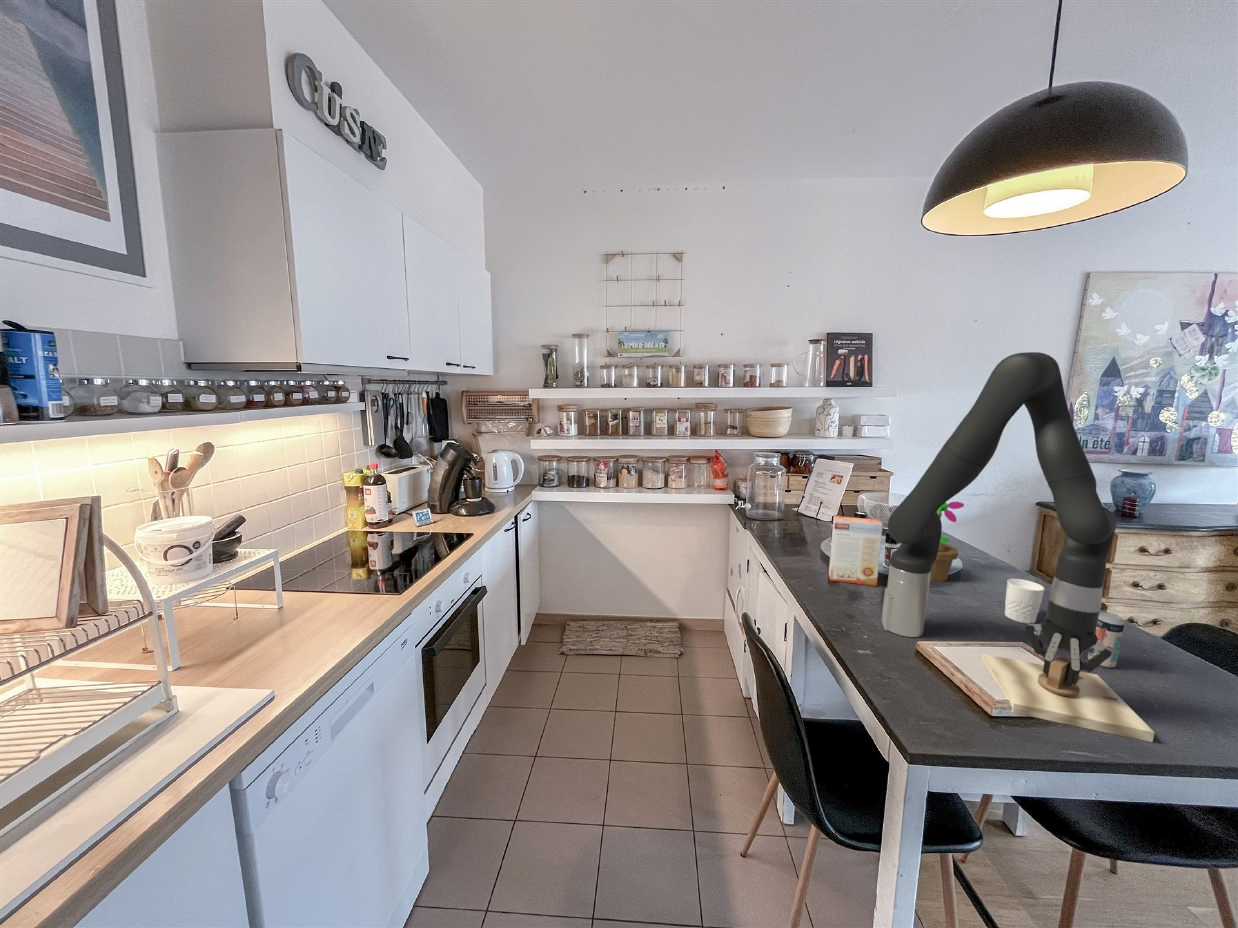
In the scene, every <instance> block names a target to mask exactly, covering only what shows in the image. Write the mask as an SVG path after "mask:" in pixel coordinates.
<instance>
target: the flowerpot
mask: <svg viewBox="0 0 1238 928" xmlns="http://www.w3.org/2000/svg"><path fill="white" fill-rule="evenodd" d="M964 504H965V503H963V502H961V501H951V502H949V503H947V502H945V503H944V504H943V505H942V506H941V507H940V508H939V509H938V510H937V511H936V512H937V513H938V515H939V517H940V519H941V518H942V516H943V512H944V516H945V517H946V518H947V520H948V521H950V522H952V523H955V522H957V516H956V515H955V513H954V512H952V510H957V509H958V510H959V509H961V508H964V507H965V505H964ZM950 509H951V510H950ZM950 542H951V540H950V539H949V538H947V537H945V536H943V535H941V539H940V544H939V549H938V554H937V558H936V560H935V562H934V563H933V565H932V569H931V576H930V582H937V583H940V582H941V583H942V582H946V581H947V580H948V577H949V573H950V570H951V568H952V563H953V561H954V560H957V559H958V555H959V550H958V549H957V548H955V547H953V546H952V545H950V544H945V543H950Z"/></svg>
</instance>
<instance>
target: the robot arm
mask: <svg viewBox="0 0 1238 928" xmlns="http://www.w3.org/2000/svg"><path fill="white" fill-rule="evenodd" d="M1023 405H1024V406H1025V408H1026V410H1027V412H1028V415H1029V417H1030V420H1031V423H1032V428H1033V432H1034V443H1035V450H1036V456H1037V461H1038V464H1039V466H1040V469H1041V472H1042V474H1043V476H1044V478H1045V481H1046V483H1047V485H1048V488H1049V489H1050V492H1051V495H1052V497H1053V503H1054V507H1055V512H1056V515H1057V519H1058V521H1059V525H1060V527H1061V529H1062V530H1063V532H1064V533H1065V537H1064V543H1063V548H1062V549H1061V551H1060V553H1059V555H1058V557H1057V562H1056V567H1055V572H1054V578H1053V580H1052V583H1051V585H1050V591H1049V597H1048V601H1047V609H1046V614H1045V618H1044V620H1042V622H1041V623H1027V624H1026V626H1025V627H1024V629H1025V631H1026V634H1027V637H1028V639H1029V642H1030V644H1031V646H1032V649H1033V651H1034V653H1035V654H1036V655H1040V656H1041V657H1042V658H1043V659H1044V662H1043V665H1044V667H1043V672H1044V673H1045V674H1047V675H1046V677H1048V674H1049V669H1050V664H1051V662H1052V661H1054V660H1056V658H1055V657H1056V654H1057V652H1058V650H1059V649H1064V650H1065V651H1068V652H1070V657H1071V667H1070V669H1069V674H1068V679H1067V685H1070V686H1071V685H1072V684H1076V683H1077V681H1078V678H1079V673H1080V672H1082V671H1086V673H1091V672H1093V671H1094V670H1095V669H1096V668H1098V667H1100V666H1099V665H1100V664H1101V663H1103V662H1104V661H1105V660H1106V659H1108V658H1109V657H1110V656H1111V655H1112V652H1113V649H1112V648H1111V647H1108V646H1107V647H1106V646H1105V645H1103V644H1102V643H1100V642H1099V641H1098V638H1097V636H1096V627H1097V622H1098V617H1099V612H1101V611H1100V610H1101V608H1102V606H1103V602H1102V601H1103V586H1104V582H1105V577H1106V569H1107V559H1108V555H1109V553H1110V550H1111V545H1112V543H1113V540H1114V536H1115V533H1116V528H1117V520H1116V517H1115V514H1114V513H1113V512H1112V511H1111V510H1110V509H1109V508H1107V507H1105V506H1104V505H1103V504H1102V501H1101V499H1100V497H1099V494H1098V491H1097V479H1096V477H1095V475H1094V471H1093V469H1092V467H1091V464H1090V462H1089V460H1088V458H1087V457H1088V456H1086V454H1085V451H1084V449H1083V448H1084V447H1083V446H1082V444H1081V442H1080V440H1079V437H1078V435H1077V432H1076V429H1075V425H1074V423H1073V421H1072V417H1071V414H1070V411H1069V406H1068V402H1067V399H1066V394H1065V390H1064V384H1063V379H1062V373H1061V368H1060V365H1059V363H1058V361H1056V359H1055V358H1054V357H1053V356H1051V355H1050V354H1047V353H1043V352H1039V351H1037V352H1036V351H1035V352H1033V351H1031V352H1030V351H1029V352H1017V353H1014V354H1011V355H1007V357H1005V358H1003V359H1001V360H1000V362H998V363H997V364H996V366H995V367H993V370H992V371H991V373H990V374H989V377H988V379H987V380H986V382H985V384H984V386H983V388H982V389H981V392H980V393H979V395H978V397H977V399H976V400H975V402H974V404H973V405H972V406H971V408H970V409H969V412H967V414H966V415H965V416H964V417H963V419H961V421H960V422H959V424H958V425H957V427H956V428H955V429H954V431H953V432H952V433H951V435H950V437H948V439H947V440H946V441H945V443H944V444H943V446H942V447H941V448H940V450H939V451H938V452H937V454H936V455H935V457H934V459H933V460H932V462H931V463H930V465H929V466H928V468H927V469H926V471H925V472H924V473H923V475H922V476H921V477H920V479H919V480H918V482H917V484H915V486H914V488H913V489H912V490H911V491H910V492H909V494H908V495H907V496H906V497H905V498H904V499H903V500H902V501H901V502H900V504H899V505H898V506H897V507H896V508H895V509H894V510H893V511H892V513H891V514H890V516H889V519H888V520H887V531H888V534H889V536H890V538H891V539H892V540H894V541H895V542H897V543H899V544H900V545H899V546H898V548H897V549H895V550H894V551H893V552H892V553H891V556H890V558H889V559H890V561H889V568H888V577H887V587H885V588H884V596H883V603H882V605H883V606H882V614H881V623H882V625H883V629H884V631H888V632H891V633H894V634H895V635H899V636H903V637H907V638H908V637H909V638H919V637H922V635H923V634H924V629H925V620H926V615H927V605H928V597H929V590H930V583H931V581H930V576H931V569H932V565H933V563H934V562H935V560H936V558H937V554H938V549H939V544H940V543H941V542H940V539H941V536H942V531H943V524H942V520H941V518H940V517H939V515H938V513H937V512H936V511H937V510H938V509H939V508H940V507H941V506H942V505H943V504H944V503H945V502H946V503H947V502H948V501H949V500H951V499H952V498H953V497H955V496H956V495H958V494H959V493H960V492H962V491H963V490H964V489H966V488H967V487H968V486H969V485H971V484H972V483H973V482H974V481H976V479H977V478H978V477H979V475H980V474H981V473H982V472H983V470H984V469H985V468H986V466H987V465H988V464H989V463H990V461H991V460H992V458H993V457H994V455H995V453H996V451H997V448H998V446H999V443H1000V440H1001V437H1002V435H1003V432H1004V430H1005V428H1006V427H1007V424H1008V423H1009V422H1010V420H1011V419H1012V418H1013V416H1014V415H1015V414H1016V413H1017V412H1018V410H1020V409H1021V408H1022V406H1023ZM1041 630H1042V631H1041ZM1042 632H1043V633H1044V635H1045V636H1046V638H1047V639H1048V641H1049V646H1048V647H1047V649H1046V648H1045V647H1044V644H1043V641H1042V640H1041V637H1040V635H1041V633H1042ZM1092 646H1095V648H1096V649H1095V653H1096V655H1095V656H1094V657H1093V658H1091V659H1090V660H1089V659H1088V660H1087V661H1083V657H1082V656H1083V652H1084V651H1086V650H1089V648H1090V647H1092Z"/></svg>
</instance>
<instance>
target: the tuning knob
mask: <svg viewBox="0 0 1238 928" xmlns="http://www.w3.org/2000/svg"><path fill="white" fill-rule="evenodd" d="M1070 667H1071V656H1067V655H1065V654H1063V655H1061V656H1059V657H1057V658H1055V660H1054V661H1052V662H1051V664H1050V669H1049V674H1048V677H1046V675H1047V674H1040V675H1039V676H1038V683H1039V684H1040V685H1041V686H1042V687H1044V688H1045V689H1047V690H1049V691H1051V692H1053V693H1056V694H1059V695H1062V696H1067V697H1077V696H1078V695H1079V692H1080V688H1079V687H1078V686H1077V685H1076V684H1072V685H1071V686H1070V685H1067V679H1068V674H1069V669H1070Z"/></svg>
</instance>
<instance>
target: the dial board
mask: <svg viewBox="0 0 1238 928" xmlns="http://www.w3.org/2000/svg"><path fill="white" fill-rule="evenodd" d="M981 659H982V660H983V662H984V663H985V665H986V667H987V669H988V670H989V672H990V673H991V675H992V676H993V678H994V679H995V681H996V682H997V683H998V685H999V687H1000V688H1001V689H1002V691H1003V693H1004V695H1005V696H1006V698H1007V699H1008V700H1009V701H1010V703H1011V705H1012V710H1010V711H1011V713H1013V714H1018V715H1022V716H1027V717H1031V718H1035V719H1040V720H1045V721H1049V722H1055V723H1059V724H1065V725H1068V726H1069V725H1070V726H1074V727H1079V728H1082V729H1083V728H1084V729H1089V730H1093V731H1097V732H1102V733H1105V734H1112V735H1116V736H1122V737H1126V738H1130V739H1135V740H1141V741H1145V742H1150V743H1153V741H1154V737H1155V734H1156V733H1155V731H1154V730H1153V729H1152V728H1151V727H1150V726H1149V725H1148V724H1147V723H1146V722H1145V721H1144V720H1143V719H1142V718H1141V717H1140V716H1139V715H1138V713H1136V712H1135V711H1134V710H1133V709H1132V708H1131V707H1130V706H1129V705H1128V704H1127V703H1126V702H1125V701H1124V700H1123V699H1122V698H1121V697H1120V696H1119V695H1118V694H1117V693H1116V692H1115V691H1114V690H1113V688H1111V686H1109V685H1108V684H1107V683H1106V682H1105V680H1103V679H1102V678H1101V677H1100V676H1099V675H1098V674H1095V673H1091V672H1085V671H1084V672H1083V671H1080V673H1079V678H1078V681H1077V683H1076V685H1077V686H1078V687H1079V688H1080V692H1079V695H1078V696H1077V697H1067V696H1062V695H1059V694H1056V693H1053V692H1051V691H1049V690H1047V689H1045V688H1044V687H1042V686H1041V685H1040V684H1039V683H1038V676H1039V675H1040V674H1045V673H1044V672H1043V667H1044V664H1042V663H1041V664H1040V663H1034V662H1029V661H1023V660H1018V659H1011V658H1006V657H1001V656H995V655H990V654H984V653H982V654H981Z"/></svg>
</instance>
